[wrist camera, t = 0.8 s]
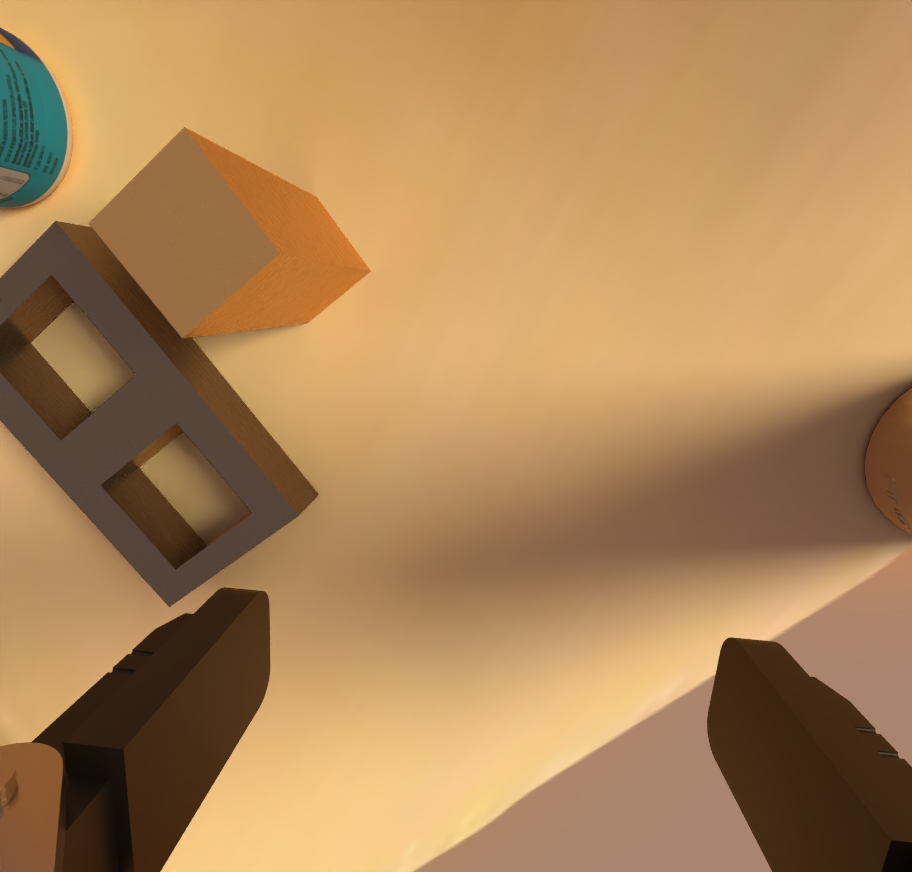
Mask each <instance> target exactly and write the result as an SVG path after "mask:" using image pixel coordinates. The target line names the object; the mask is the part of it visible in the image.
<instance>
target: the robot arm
mask: <svg viewBox="0 0 912 872" xmlns="http://www.w3.org/2000/svg"><path fill="white" fill-rule="evenodd" d="M865 476H866V482H867V488H868V490H869V492H870V495H871V497H872V499H873V502H874V503H875V505H876V506H877V507H878V508H879V510H880V511H881V512H882V513H883V515H884V516H885V517H886V518H888V519H889V520H890V521H892V522H893V523H894V524H896V525H897V526H898V527H900V528H901V529H903V530H905V531H907V532H908V533H910V534H912V387H911V388H910V389H909V390H908V391H907V392H905V393H904V394H903V395H902V396H900V397H899V398H898V399H897V400H896V401H895V402H894V403H893V404H892V406H891V407H890V408H889V409H888V410H887V411H886V412H885V414H884V415H883V416H882V418H881V419H880V421H879V423H878V425H877V426H876V428H875V430H874V432H873V433H872V436H871V439H870V442H869V445H868V448H867V451H866V460H865ZM269 675H270V616H269V598H268V595H267V594H266V592H264V591H255V590H245V589H235V588H221V589H219V590H218V591H217V592H216V593H215V594H214V595H213V596H212V597H210V598H209V599H208V600H207V601H206V602H205V603H204V604H203V605H202V606H201V607H200V608H199V609H198V610H197V611H196V612H195V613H194V614H188V613H185V614H183V615H181V616H179V617H177V618H176V619H174V620H172V621H170V622H168V623H166V624H164V625H162V626H160V627H158V628H157V629H155V630H154V631H153V632H152V633H151V634H149V635H148V636H147V637H146V638H145V639H144V640H143V641H142V642H141V643H140V644H138V645H137V646H136V647H135V648H134V649H133V651H132V654H128V655H126V656H125V657H124V658H123V659H122V660H121V661H120V662H119V663H118V664H117V665H115V666H114V667H113V671H112V672H111V673H109V672H108V673H107V674H106V675H104V676H103V677H102V678H101V679H100V680H99V681H98V682H97V683H96V684H95V685H94V686H92V687H91V688H90V689H89V690H88V691H87V692H86V693H85V694H84V695H83V696H81V697H80V698H79V699H78V700H77V701H76V702H75V703H74V704H73V705H72V706H70V707H69V708H68V709H67V710H66V711H65V712H64V713H63V714H62V715H61V716H60V717H58V718H57V719H56V720H55V721H54V722H53V723H52V724H51V725H50V726H49V727H47V728H46V729H45V730H44V731H43V732H42V733H41V734H40V735H39V736H38V737H37V738H35V739H34V740H33V741H32V742H29V743H16V744H10V745H5V746H1V747H0V872H160V871H161V870H162V868H163V866H164V865H165V863H166V861H167V860H168V858H169V856H170V855H171V853H172V851H173V850H174V848H175V846H176V845H177V843H178V841H179V840H180V838H181V837H182V835H183V833H184V832H185V830H186V828H187V827H188V825H189V823H190V822H191V820H192V818H193V817H194V815H195V813H196V812H197V810H198V808H199V807H200V805H201V803H202V802H203V800H204V798H205V797H206V795H207V793H208V792H209V790H210V788H211V787H212V785H213V783H214V782H215V780H216V779H217V777H218V775H219V774H220V772H221V770H222V769H223V767H224V765H225V764H226V762H227V760H228V759H229V757H230V755H231V754H232V752H233V750H234V749H235V747H236V745H237V744H238V742H239V740H240V739H241V737H242V735H243V734H244V732H245V730H246V729H247V727H248V725H249V724H250V722H251V721H252V719H253V717H254V716H255V714H256V712H257V711H258V709H259V707H260V705H261V703H262V701H263V699H264V696H265V693H266V690H267V686H268V681H269ZM707 730H708V738H709V743H710V747H711V750H712V753H713V755H714V758H715V760H716V762H717V764H718V766H719V768H720V770H721V772H722V774H723V776H724V778H725V780H726V782H727V784H728V786H729V788H730V790H731V792H732V794H733V795H734V797H735V799H736V801H737V803H738V805H739V807H740V809H741V811H742V813H743V815H744V817H745V819H746V821H747V822H748V825H749V827H750V829H751V831H752V833H753V835H754V837H755V839H756V840H757V843H758V844H759V846H760V848H761V850H762V852H763V854H764V856H765V858H766V860H767V862H768V864H769V866H770V868H771V870H772V872H912V767H911V766H910V765H909V764H908V763H907V762H906V761H905V760H904V759H899V757H898V752H897V751H896V750H895V749H894V748H893V747H892V746H891V745H890V744H889V743H888V742H887V741H886V740H885V738H884V737H882V735H881V734H876V732H875V728H874V727H873V726H872V725H871V724H870V723H869V721H868V720H867V719H866V718H865V717H864V716H863V715H862V714H861V713H860V712H859V711H858V710H857V709H856V708H855V707H854V706H853V704H852V703H851V702H850V701H848V700H847V699H846V698H844V697H843V696H841V695H840V694H838V693H837V692H835V691H834V690H833V689H831V688H829V687H828V686H827V685H825V684H824V683H822V682H821V681H819V680H818V679H817V678H815V677H810V676H809V675H808V674H807V673H806V672H805V671H804V670H803V669H802V667H801V666H800V665H799V664H798V663H797V662H796V661H795V660H794V659H793V658H792V656H791V655H790V654H789V653H788V652H787V651H786V650H785V648H784V647H783V646H782V645H780V644H778V643H777V642H772V641H762V640H751V639H741V638H727V639H726V640H725V641H724V643H723V645H722V647H721V651H720V656H719V661H718V666H717V671H716V676H715V681H714V686H713V691H712V696H711V701H710V706H709V711H708V718H707Z"/></svg>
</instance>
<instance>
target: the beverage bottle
mask: <svg viewBox="0 0 912 872" xmlns="http://www.w3.org/2000/svg"><path fill="white" fill-rule="evenodd" d="M72 149H73V126H72V119H71V114H70V110H69V106H68V103H67V100H66V98H65V95H64V93H63V90H62V88H61V86H60V84H59V82H58V81H57V79H56V77H55V76H54V74H53V72H52V71H51V70H50V68H49V67H48V65H47V64H46V63H45V62H44V61H43V59H42V58H41V57H40V56H39V55H38V54H37V53H36V52H35V51H34V50H33V49H32V48H31V47H30V46H28V45H27V44H26V43H25V42H23V41H22V40H20V39H19V38H18V37H16V36H14V35H13V34H11V33H9V32H7V31H5V30H4V29H2V28H0V207H1V208H19V207H25V206H29V205H32V204H35V203H37V202H39V201H41V200H42V199H44V198H46V197H47V196H48V195H49V194H51V193H52V192H53V191H54V190H55V189H56V188H57V186H58V185H59V184H60V182H61V181H62V179H63V177H64V176H65V174H66V171H67V169H68V166H69V163H70V160H71V155H72Z"/></svg>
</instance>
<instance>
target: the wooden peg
mask: <svg viewBox="0 0 912 872" xmlns="http://www.w3.org/2000/svg"><path fill="white" fill-rule="evenodd" d="M89 224H90V226H91V227H92V228H93V229H94V230H95V232H96V233H97V234H98V235H99V237H100V238H101V239H102V240H103V241H104V243H105V244H106V245H107V246H108V248H109V249H110V250H111V251H112V253H113V254H114V255H115V256H116V257H117V259H118V260H119V261H120V262H121V264H122V265H123V266H124V267H125V268H126V270H127V271H128V272H129V273H130V275H131V276H132V277H133V278H134V280H135V281H136V282H137V283H138V284H139V286H140V287H141V288H142V289H143V291H144V292H145V293H146V294H147V296H148V297H149V298H150V299H151V300H152V302H153V303H154V304H155V305H156V307H157V308H158V309H159V310H160V311H161V313H162V314H163V315H164V316H165V318H166V319H167V320H168V321H169V323H170V324H171V325H172V326H173V327H174V329H175V330H176V331H177V332H178V334H179V335H180V336H181V337H182V338H190V337H199V336H207V335H215V334H223V333H231V332H239V331H247V330H255V329H263V328H272V327H280V326H288V325H296V324H304V323H308V322H309V321H311V320H312V319H313V318H314V317H316V316H317V315H318V314H319V313H320V312H322V311H323V310H324V309H325V308H327V307H328V306H329V305H330V304H332V303H333V302H334V301H335V300H336V299H338V298H339V297H340V296H341V295H343V294H344V293H345V292H346V291H347V290H349V289H350V288H351V287H352V286H354V285H355V284H356V283H357V282H358V281H360V280H361V279H362V278H363V277H365V276H366V275H367V274H368V273H369V272H371V271H370V269H369V268H368V267H367V265H366V264H365V263H364V261H363V260H362V258H361V257H360V256H359V254H358V253H357V252H356V250H355V249H354V247H353V246H352V245H351V243H350V242H349V241H348V239H347V238H346V237H345V235H344V234H343V232H342V231H341V230H340V228H339V227H338V226H337V224H336V223H335V221H334V220H333V219H332V217H331V216H330V215H329V213H328V212H327V211H326V209H325V208H324V206H323V205H322V204H321V202H320V201H319V200H318V198H317V197H316V196H314V195H312V194H310V193H308V192H306V191H304V190H302V189H300V188H299V187H297V186H295V185H293V184H291V183H289V182H287V181H285V180H283V179H282V178H280V177H278V176H276V175H274V174H272V173H270V172H268V171H266V170H264V169H263V168H261V167H259V166H257V165H255V164H253V163H251V162H249V161H247V160H246V159H244V158H242V157H240V156H238V155H236V154H234V153H232V152H230V151H229V150H227V149H225V148H223V147H221V146H219V145H217V144H215V143H213V142H212V141H210V140H208V139H206V138H204V137H202V136H200V135H198V134H196V133H195V132H193V131H191V130H189V129H187V128H185V127H184V128H183V129H182V130H181V131H180V132H179V133H178V134H177V135H176V136H175V137H174V138H173V139H172V140H171V141H170V142H169V143H168V144H167V145H166V146H165V147H164V148H163V149H162V150H161V151H160V152H159V153H158V154H157V155H156V156H155V157H154V158H153V159H152V160H151V161H150V162H149V163H148V164H147V165H146V166H145V167H144V168H143V169H142V170H141V171H140V172H139V173H138V174H137V175H136V176H135V177H134V178H133V179H132V180H131V181H130V182H129V183H128V184H127V185H126V186H125V187H124V188H123V189H122V190H121V191H120V193H119V194H118V195H117V196H116V197H115V198H114V199H113V200H112V201H111V202H110V203H109V204H108V205H107V206H106V207H105V208H104V209H103V210H102V211H101V212H100V213H99V214H98V215H97V216H96V217H95V218H94V219H93V220H92V221H91V222H90V223H89Z"/></svg>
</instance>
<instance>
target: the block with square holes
mask: <svg viewBox="0 0 912 872" xmlns="http://www.w3.org/2000/svg"><path fill="white" fill-rule="evenodd" d="M73 301H74V302H75V303H76V304H77V305H78V306H79V308H80V309H81V310H82V311H83V312H84V313H85V315H86V316H87V317H88V318H89V319H90V321H91V322H92V323H93V324H94V325H95V327H96V328H97V329H98V330H99V331H100V333H101V334H102V335H103V336H104V337H105V338H106V340H107V341H108V342H109V343H110V344H111V346H112V347H113V348H114V349H115V350H116V352H117V353H118V354H119V355H120V356H121V357H122V359H123V360H124V361H125V362H126V363H127V365H128V366H129V367H130V368H131V369H132V371H133V372H134V373H135V374H136V376H135V377H133V378H132V379H131V380H130V381H129V382H128V383H127V384H125V385H124V386H123V387H122V388H121V389H120V390H119V391H117V392H116V393H115V394H114V395H113V396H112V397H111V398H109V399H108V400H107V401H106V402H105V403H104V404H103V405H101V406H100V407H99V408H98V409H97V410H96V411H95V412H93V413H91V412H90V411H89V410H88V409H87V408H86V406H85V405H84V404H83V403H82V402H81V401H80V400H79V398H78V397H77V396H76V395H75V394H74V393H73V391H72V390H71V389H70V388H69V387H68V386H67V385H66V383H65V382H64V381H63V380H62V379H61V378H60V377H59V375H58V374H57V373H56V372H55V371H54V370H53V368H52V367H51V366H50V365H49V364H48V363H47V362H46V360H45V359H44V358H43V357H42V356H41V355H40V354H39V352H38V351H37V350H36V349H35V348H34V347H33V345H32V344H31V342H32V341H33V340H34V339H35V338H36V337H37V336H38V335H39V334H40V333H41V332H42V331H43V330H44V329H45V328H46V327H47V326H48V325H49V324H50V323H51V322H52V321H53V320H55V319H56V318H57V317H58V316H59V315H60V314H61V313H62V312H63V311H64V310H65V309H66V308H67V307H68V306H69V305H70V304H71V303H72V302H73ZM0 421H1V422H2V423H3V424H4V425H5V426H6V427H7V428H8V429H9V430H10V432H11V433H12V434H13V435H14V436H15V437H16V438H17V439H18V440H19V442H20V443H21V444H22V445H23V446H24V447H25V448H26V449H27V450H28V451H29V453H30V454H31V455H32V456H33V457H34V458H35V459H36V460H37V461H38V463H39V464H40V465H41V466H42V467H43V468H44V469H45V470H46V471H47V472H48V474H49V475H50V476H51V477H52V478H53V479H54V480H55V481H56V482H57V484H58V485H59V486H60V487H61V488H62V489H63V490H64V491H65V492H66V493H67V495H68V496H69V497H70V498H71V499H72V500H73V501H74V502H75V503H76V505H77V506H78V507H79V508H80V509H81V510H82V511H83V512H84V513H85V514H86V516H87V517H88V518H89V519H90V520H91V521H92V522H93V523H94V524H95V526H96V527H97V528H98V529H99V530H100V531H101V532H102V533H103V534H104V535H105V537H106V538H107V539H108V540H109V541H110V542H111V543H112V544H113V545H114V547H115V548H116V549H117V550H118V551H119V552H120V553H121V554H122V555H123V556H124V558H125V559H126V560H127V561H128V562H129V563H130V564H131V565H132V566H133V568H134V569H135V570H136V571H137V572H138V573H139V574H140V575H141V576H142V577H143V579H144V580H145V581H146V582H147V583H148V584H149V585H150V586H151V587H152V589H153V590H154V591H155V592H156V593H157V594H158V595H159V596H160V597H161V598H162V600H163V601H164V602H165V603H166V604H167V605H168V606H169V607H170V606H172V605H173V604H174V603H176V602H177V601H179V600H180V599H181V598H183V597H184V596H186V595H187V594H189V593H190V592H191V591H193V590H194V589H196V588H197V587H198V586H200V585H201V584H203V583H204V582H206V581H207V580H208V579H210V578H211V577H213V576H214V575H215V574H217V573H218V572H220V571H221V570H223V569H224V568H225V567H227V566H228V565H230V564H231V563H232V562H234V561H235V560H237V559H238V558H240V557H241V556H242V555H244V554H245V553H247V552H248V551H249V550H251V549H252V548H254V547H255V546H256V545H258V544H259V543H261V542H262V541H264V540H265V539H266V538H268V537H269V536H271V535H272V534H273V533H275V532H276V531H278V530H279V529H281V528H282V527H283V526H285V525H286V524H288V523H289V522H290V521H292V520H293V519H295V518H296V517H298V516H299V515H300V514H301V513H302V512H303V511H304V510H305V509H306V508H307V507H308V506H309V504H310V503H311V502H312V501H313V500H314V499H315V498H316V497H317V496H318V493H317V492H316V491H315V490H314V488H313V487H312V486H311V485H310V483H309V482H308V481H307V480H306V478H305V477H304V476H303V475H302V474H301V472H300V471H299V470H298V469H297V467H296V466H295V465H294V464H293V462H292V461H291V460H290V459H289V458H288V456H287V455H286V454H285V453H284V451H283V450H282V449H281V448H280V446H279V445H278V444H277V443H276V441H275V440H274V439H273V438H272V437H271V435H270V434H269V433H268V432H267V430H266V429H265V428H264V427H263V425H262V424H261V423H260V422H259V421H258V419H257V418H256V417H255V416H254V414H253V413H252V412H251V411H250V409H249V408H248V407H247V406H246V404H245V403H244V402H243V401H242V400H241V398H240V397H239V396H238V395H237V393H236V392H235V391H234V390H233V388H232V387H231V386H230V385H229V384H228V382H227V381H226V380H225V379H224V377H223V376H222V375H221V374H220V372H219V371H218V370H217V369H216V367H215V366H214V365H213V364H212V363H211V361H210V360H209V359H208V358H207V356H206V355H205V354H204V353H203V351H202V350H201V349H200V348H199V347H198V345H197V344H196V343H195V342H194V340H193V339H192V338H191V337H190V338H182V337H181V336H180V335H179V334H178V332H177V331H176V330H175V329H174V327H173V326H172V325H171V324H170V323H169V321H168V320H167V319H166V318H165V316H164V315H163V314H162V313H161V311H160V310H159V309H158V308H157V307H156V305H155V304H154V303H153V302H152V300H151V299H150V298H149V297H148V296H147V294H146V293H145V292H144V291H143V289H142V288H141V287H140V286H139V284H138V283H137V282H136V281H135V280H134V278H133V277H132V276H131V275H130V273H129V272H128V271H127V270H126V268H125V267H124V266H123V265H122V264H121V262H120V261H119V260H118V259H117V257H116V256H115V255H114V254H113V253H112V251H111V250H110V249H109V248H108V246H107V245H106V244H105V243H104V241H103V240H102V239H101V238H100V237H99V235H98V234H97V233H96V232H95V230H94V229H93V228H92V227H87V226H81V225H75V224H70V223H64V222H58V221H55V222H54V223H53V224H52V225H51V226H50V227H49V228H48V230H47V231H46V232H45V233H44V234H43V235H42V236H41V237H40V238H39V239H38V240H37V241H36V242H35V243H34V244H33V245H32V246H31V247H30V248H29V249H28V250H27V251H26V252H25V253H24V254H23V255H22V256H21V257H20V258H19V259H18V260H17V262H16V263H15V264H14V265H13V266H12V267H11V268H10V269H9V270H8V271H7V272H6V273H5V274H4V275H3V276H2V277H1V278H0ZM183 431H184V432H185V434H186V435H187V436H188V437H189V438H190V439H191V441H192V442H193V443H194V444H195V445H196V447H197V448H198V449H199V450H200V451H201V453H202V454H203V455H204V456H205V457H206V458H207V460H208V461H209V462H210V463H211V464H212V466H213V467H214V468H215V469H216V470H217V472H218V473H219V474H220V475H221V476H222V478H223V479H224V480H225V481H226V482H227V483H228V485H229V486H230V487H231V488H232V489H233V491H234V492H235V493H236V494H237V495H238V497H239V498H240V499H241V500H242V501H243V502H244V504H245V505H246V506H247V507H248V508H249V510H250V511H251V512H250V513H249V514H248V515H246V516H245V517H243V518H242V519H241V520H239V521H238V522H237V523H235V524H234V525H233V526H231V527H230V528H228V529H227V530H226V531H224V532H223V533H222V534H220V535H219V536H217V537H216V538H215V539H213V540H212V541H211V542H209V543H208V544H205V543H204V542H203V541H202V540H201V539H200V538H199V536H198V535H197V534H196V533H195V532H194V531H193V530H192V528H191V527H190V526H189V525H188V524H187V523H186V521H185V520H184V519H183V518H182V517H181V516H180V515H179V513H178V512H177V511H176V510H175V509H174V508H173V507H172V505H171V504H170V503H169V502H168V501H167V500H166V498H165V497H164V496H163V495H162V494H161V493H160V492H159V490H158V489H157V488H156V487H155V486H154V485H153V483H152V482H151V481H150V480H149V479H148V478H147V477H146V475H145V474H144V473H143V472H142V471H141V470H140V469H139V467H140V466H141V465H143V464H144V463H145V462H146V461H148V460H149V459H150V458H151V457H153V456H154V455H155V454H156V453H157V452H159V451H160V450H161V449H162V448H164V447H165V446H166V445H167V444H169V443H170V442H171V441H172V440H173V439H175V438H176V437H177V436H178V435H180V434H181V433H182V432H183Z"/></svg>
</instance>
